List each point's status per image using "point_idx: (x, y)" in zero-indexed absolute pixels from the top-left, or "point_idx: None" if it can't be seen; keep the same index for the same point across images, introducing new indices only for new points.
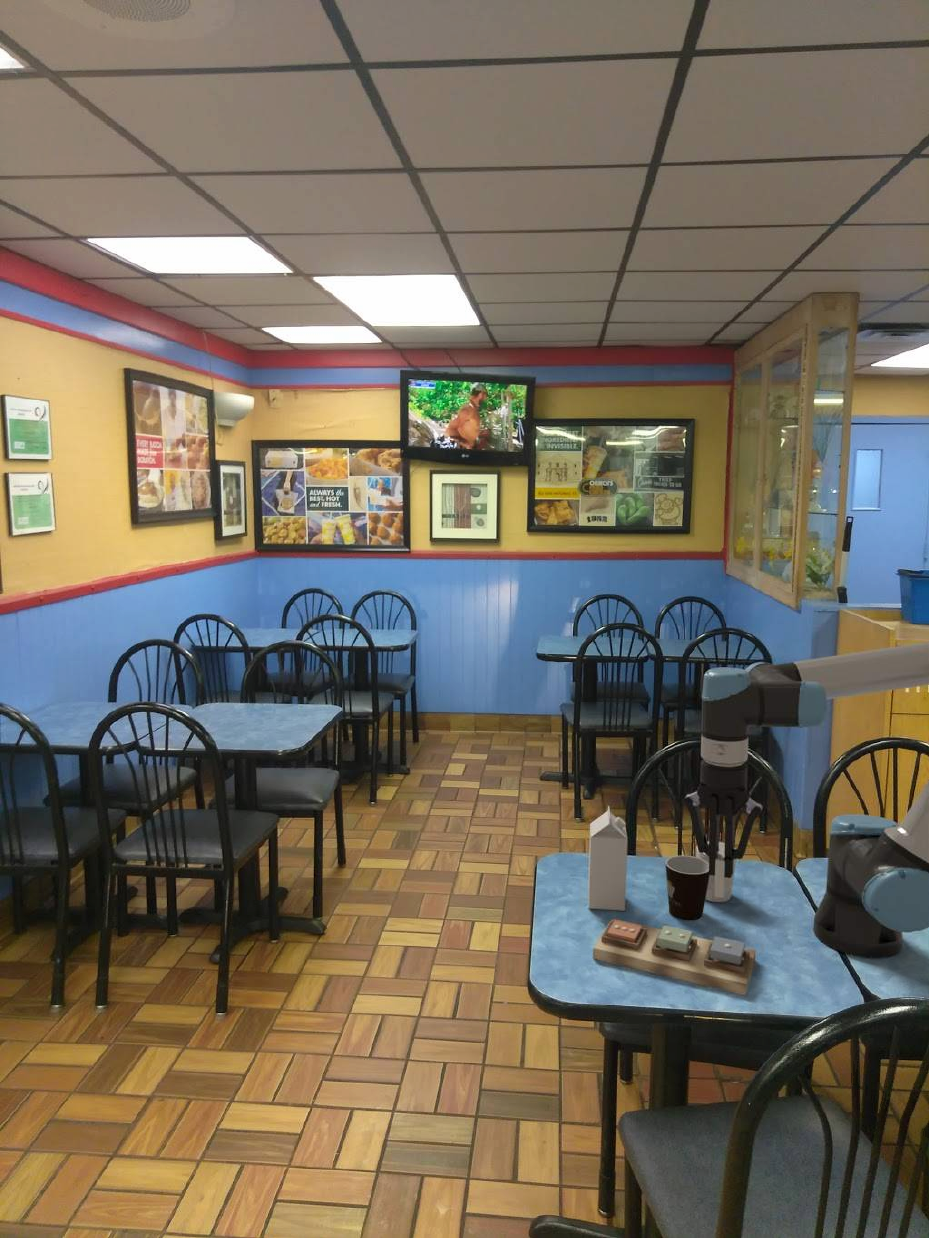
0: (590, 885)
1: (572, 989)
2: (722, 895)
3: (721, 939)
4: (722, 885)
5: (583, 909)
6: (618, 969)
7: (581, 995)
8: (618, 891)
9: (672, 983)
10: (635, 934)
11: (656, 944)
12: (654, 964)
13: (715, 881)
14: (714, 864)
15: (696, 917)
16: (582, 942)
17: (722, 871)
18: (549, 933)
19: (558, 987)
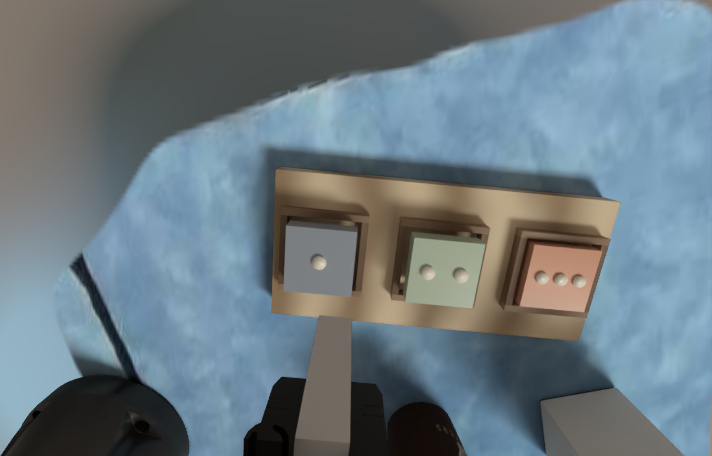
0: (657, 430)
1: (647, 49)
2: (321, 319)
3: (336, 288)
4: (318, 343)
5: (625, 382)
6: (544, 172)
7: (625, 30)
8: (580, 432)
9: (428, 158)
10: (533, 263)
11: None
12: (475, 187)
13: (348, 353)
14: (356, 427)
15: (398, 413)
16: (626, 254)
17: (312, 388)
18: (701, 266)
19: (680, 45)
